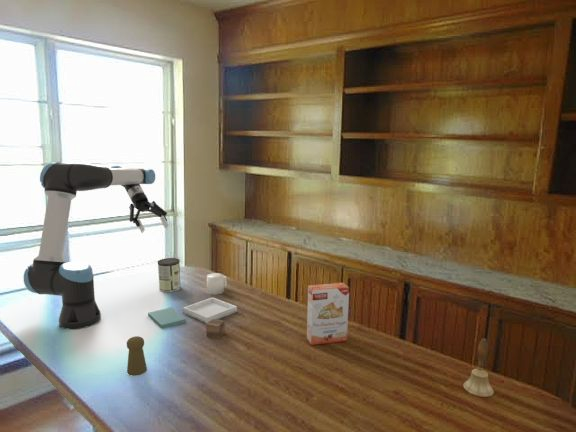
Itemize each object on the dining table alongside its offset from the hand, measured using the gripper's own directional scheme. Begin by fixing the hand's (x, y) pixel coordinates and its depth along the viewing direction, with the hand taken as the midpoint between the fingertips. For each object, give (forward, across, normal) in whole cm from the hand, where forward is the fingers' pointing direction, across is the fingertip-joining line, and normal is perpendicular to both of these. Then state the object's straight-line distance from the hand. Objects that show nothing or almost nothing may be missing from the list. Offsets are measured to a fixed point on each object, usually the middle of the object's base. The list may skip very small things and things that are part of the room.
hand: (155, 229), depth 216 cm
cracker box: (+93, +4, -54) cm, 107 cm away
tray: (+56, -8, -17) cm, 59 cm away
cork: (+69, -53, -30) cm, 92 cm away
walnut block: (+69, -20, -30) cm, 77 cm away
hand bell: (+129, +8, -90) cm, 158 cm away
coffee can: (+29, -2, +10) cm, 31 cm away
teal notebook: (+51, -24, -11) cm, 57 cm away
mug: (+43, +10, -4) cm, 44 cm away
